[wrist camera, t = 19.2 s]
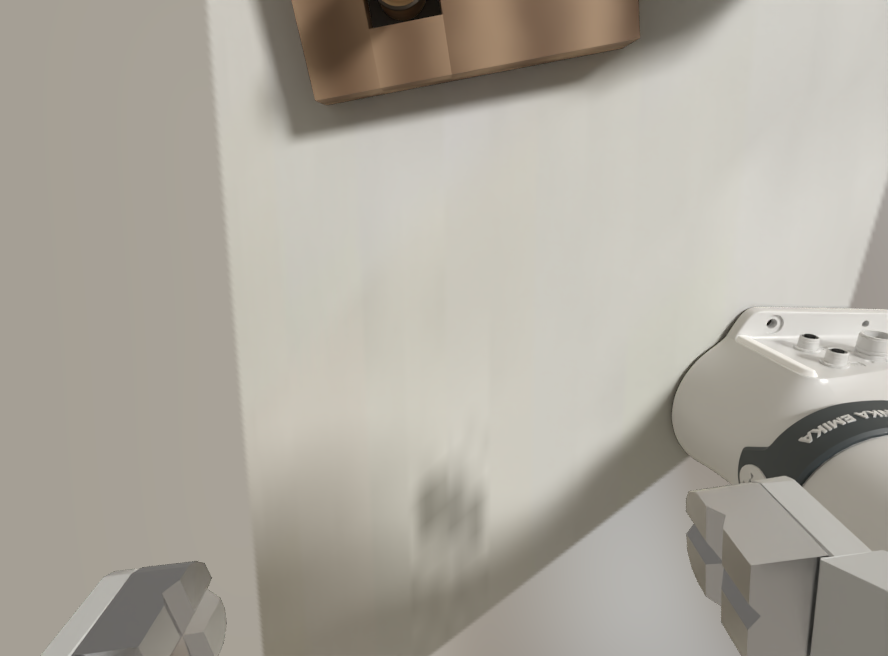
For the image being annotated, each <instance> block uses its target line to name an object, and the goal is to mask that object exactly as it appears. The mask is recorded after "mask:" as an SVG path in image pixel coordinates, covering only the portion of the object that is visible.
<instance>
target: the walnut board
mask: <svg viewBox="0 0 888 656" xmlns="http://www.w3.org/2000/svg"><path fill="white" fill-rule="evenodd" d="M291 1H292V5H293V10H294V14H295V18H296V22H297V26H298V31H299V35H300V39H301V43H302V47H303V52H304V56H305V60H306V64H307V69H308V73H309V77H310V81H311V85H312V90H313V94H314V98H315V101H317V102H320V103H322V104H325V105H330V104H335V103H341V102H346V101H351V100H356V99H361V98H367V97H372V96H377V95H382V94H388V93H393V92H398V91H403V90H408V89H414V88H419V87H424V86H429V85H434V84H440V83H445V82H450V81H455V80H460V79H466V78H471V77H476V76H481V75H486V74H492V73H497V72H502V71H507V70H512V69H518V68H523V67H528V66H533V65H539V64H544V63H549V62H554V61H559V60H565V59H570V58H575V57H580V56H585V55H591V54H596V53H601V52H606V51H611V50H617V49H622V48H624V47H625V46H627V45H629V44H631V43H632V42H634V41H636V40H638V39H639V38H640V25H639V0H439V6H440V12H441V15H437V16H432V17H427V18H422V19H417V20H412V21H407V22H402V23H397V24H392V25H387V26H382V27H377V28H373V24H372V19H371V14H370V9H369V3H368V0H291Z"/></svg>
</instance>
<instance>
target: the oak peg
mask: <svg viewBox="0 0 888 656" xmlns="http://www.w3.org/2000/svg"><path fill="white" fill-rule="evenodd" d="M377 1H378V2H379V4H380V6H381V8H382V9H383V11H384V12H385V13H386V14H387V15H388V16H390V17H391V18H393V19H395V20H399V21H406V20H410V19H412V18H414V17H416V16H417V15H418V14H419V13H420V12H421V10H422V9H423V7H424V5H425V2H426V0H377Z"/></svg>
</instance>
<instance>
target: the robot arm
mask: <svg viewBox="0 0 888 656" xmlns="http://www.w3.org/2000/svg"><path fill="white" fill-rule="evenodd" d="M770 319H772V322H771V323H770V324H769V325H767V322H768V321H769V320H770ZM672 423H673V428H674V432H675V435H676V437H677V440H678V442H679V443H680V445H681V446H682V448H683V449H684V450H685V451H686V452H687V453H688V454H689V455H690V456H691V457H692V458H693V459H695V460H697V461H698V462H700V463H701V464H703V465H705V466H706V467H708V468H709V469H711V470H713V471H714V472H715V473H717V474H718V475H720V476H721V477H722V478H724V479H725V480H726V481H728V482H729V483H730V484H731V485H727V486H720V487H713V488H706V489H700V490H693V491H689V492H688V495H687V498H686V512H687V513H688V515H689V517H690V518H691V520H692V521H693V523H694V524H693V526H692V527H691V528H690V530H689V531H688V532H687V534H686V537H687V551H688V556H689V560H690V564H691V567H692V570H693V572H694V574H695V577H696V579H697V582H698V583H699V585H700V587H701V589H702V590H703V592H704V594H705V596H706V597H708V598H709V599H711V600H712V601H714V602H715V603H717V604H719V605H720V606H721V623H722V625H723V626H724V628H725V629H726V631H727V633H728V635H729V636H730V638H731V640H732V641H733V643H734V644H735V646H736V648H737V650H738V651H739V653H740V655H741V656H888V309H848V308H799V307H752V308H749V309H747V310H746V311H745V312H743V313H742V314H741V316H740V317H739V318H738V319H737V321H736V322H735V323H734V325H733V326H732V328H731V329H730V331H729V333H728V334H727V336H726V337H725V338H724V339H723V340H722V341H721V342H719V343H718V344H717V345H716V346H714V347H713V348H712V349H710V350H709V351H708V352H706V353H705V354H704V355H703V356H702V357H700V358H699V359H698V360H697V361H696V362H695V364H694V365H693V366H692V367H691V368H690V369H689V371H688V372H687V373H686V375H685V376H684V378H683V380H682V381H681V383H680V385H679V387H678V390H677V392H676V395H675V398H674V402H673V408H672ZM211 579H212V577H211V575H210V573H209V571H208V569H207V567H206V565H205V563H202V562H198V561H194V562H193V561H192V562H184V563H176V564H167V565H158V566H149V567H142V568H139V569H130V570H121V571H114V572H112V573H110V574H108V575H106V576H105V577H103V578H102V579H101V581H100V582H99V583H98V585H97V586H96V587H95V588H94V589H93V591H92V592H91V593H90V594H89V596H88V597H87V598H86V599H85V601H84V602H83V603H82V604H81V606H80V607H79V608H78V609H77V611H76V612H75V613H74V614H73V616H72V617H71V618H70V619H69V621H68V622H67V623H66V624H65V626H64V627H63V628H62V629H61V631H60V632H59V633H58V634H57V636H56V637H55V638H54V639H53V641H52V642H51V643H50V644H49V646H48V647H47V648H46V649H45V650H44V652H43V653H42V654H41V656H218V655H219V653H220V650H221V648H222V645H223V643H224V637H225V631H226V624H227V622H226V614H225V608H224V606H223V603H222V601H221V598H220V597H218V596H217V595H215V594H214V593H213V592H211V591H210V590H208V586H209V584H210V581H211Z"/></svg>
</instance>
